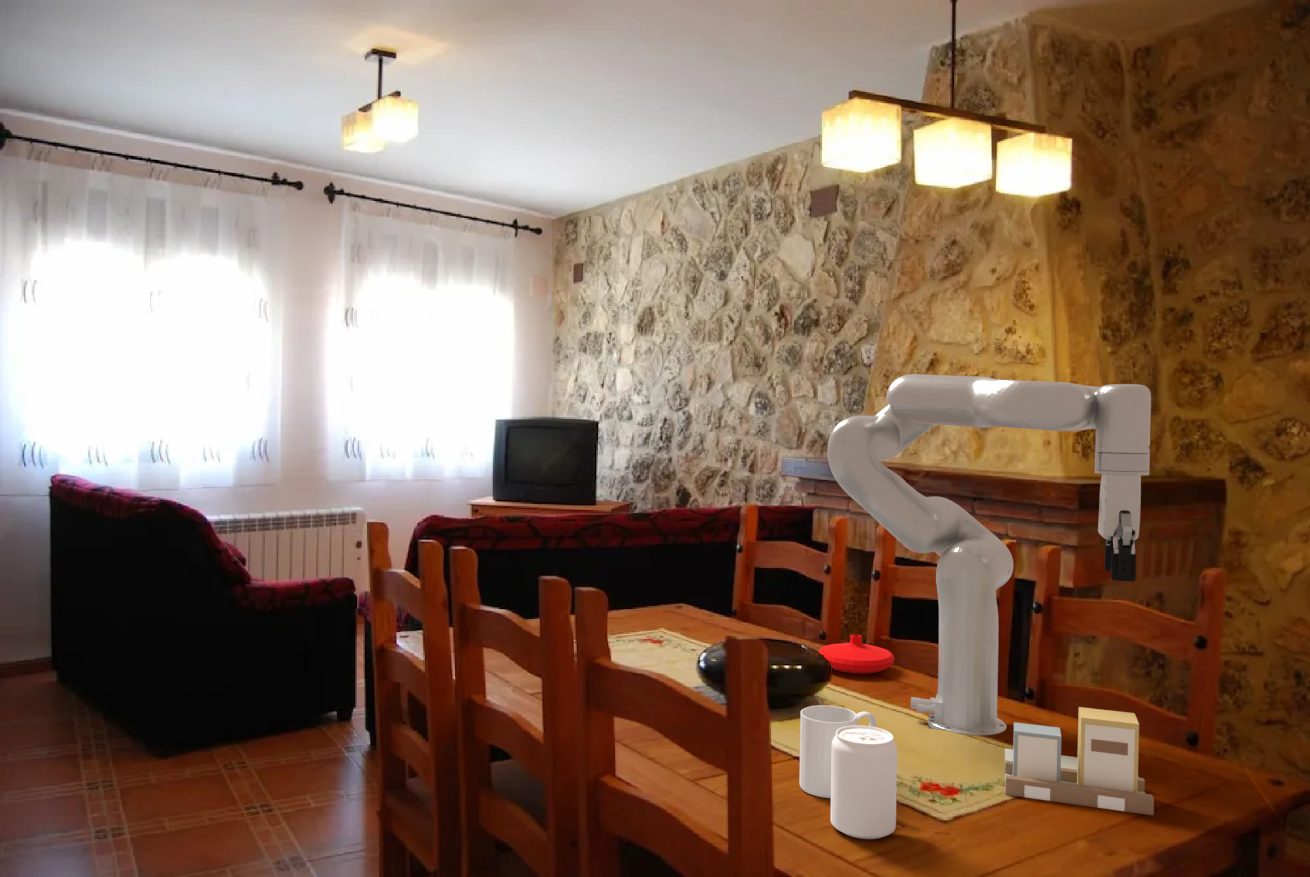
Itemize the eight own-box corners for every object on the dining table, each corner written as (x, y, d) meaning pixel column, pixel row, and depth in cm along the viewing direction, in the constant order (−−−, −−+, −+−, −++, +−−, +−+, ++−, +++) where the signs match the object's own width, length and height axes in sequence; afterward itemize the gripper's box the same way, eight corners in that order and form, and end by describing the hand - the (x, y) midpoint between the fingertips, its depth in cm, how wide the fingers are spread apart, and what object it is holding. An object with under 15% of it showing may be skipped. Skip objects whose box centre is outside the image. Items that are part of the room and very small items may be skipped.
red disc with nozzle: (903, 680, 188) (903, 645, 188) (824, 679, 188) (824, 644, 188) (884, 660, 204) (884, 628, 203) (811, 659, 204) (811, 627, 203)
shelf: (1005, 801, 128) (1005, 778, 128) (1004, 754, 146) (1005, 734, 146) (1153, 823, 122) (1154, 798, 122) (1133, 771, 140) (1134, 749, 140)
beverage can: (823, 815, 123) (824, 724, 123) (883, 814, 124) (885, 723, 123) (840, 843, 115) (842, 746, 115) (905, 842, 116) (906, 745, 115)
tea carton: (1079, 799, 127) (1081, 718, 127) (1076, 785, 132) (1078, 707, 132) (1137, 807, 124) (1139, 724, 124) (1132, 792, 129) (1134, 713, 129)
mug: (822, 803, 127) (823, 726, 127) (787, 782, 134) (789, 709, 134) (891, 788, 132) (893, 714, 132) (855, 769, 139) (856, 698, 139)
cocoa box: (1013, 788, 130) (1014, 731, 130) (1012, 778, 134) (1013, 722, 134) (1060, 795, 128) (1061, 737, 128) (1058, 784, 132) (1059, 727, 132)
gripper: (1090, 461, 154) (1087, 566, 154) (1100, 466, 138) (1097, 583, 138) (1141, 463, 151) (1138, 569, 152) (1158, 468, 135) (1155, 586, 135)
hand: (1119, 575), depth 145 cm, fingers open, 9 cm apart
